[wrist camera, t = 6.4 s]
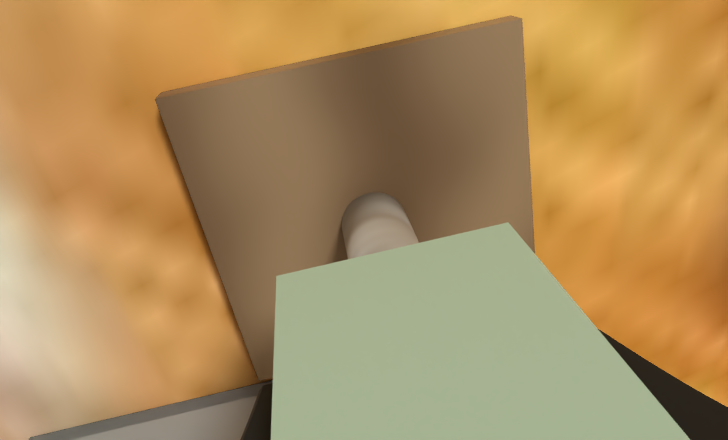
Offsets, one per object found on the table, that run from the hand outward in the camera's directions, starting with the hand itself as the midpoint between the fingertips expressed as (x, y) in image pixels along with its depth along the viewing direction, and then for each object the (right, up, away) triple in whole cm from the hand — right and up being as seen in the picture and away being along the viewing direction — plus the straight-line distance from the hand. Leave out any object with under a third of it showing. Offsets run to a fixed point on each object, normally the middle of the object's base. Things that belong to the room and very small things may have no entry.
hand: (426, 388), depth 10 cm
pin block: (-1, +3, +7) cm, 8 cm away
